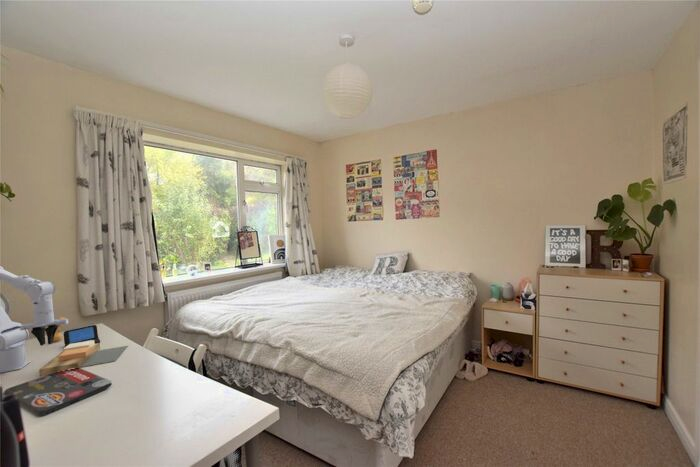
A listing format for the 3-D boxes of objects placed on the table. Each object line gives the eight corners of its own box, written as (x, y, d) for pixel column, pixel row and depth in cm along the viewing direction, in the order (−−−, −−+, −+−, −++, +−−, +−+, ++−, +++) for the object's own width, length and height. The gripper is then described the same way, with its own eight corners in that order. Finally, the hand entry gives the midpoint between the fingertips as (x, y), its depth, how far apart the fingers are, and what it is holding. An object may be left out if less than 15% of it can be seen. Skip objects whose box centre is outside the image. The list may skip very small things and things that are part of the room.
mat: (79, 367, 124) (79, 367, 124) (96, 351, 139) (96, 350, 139) (115, 361, 128) (115, 360, 128) (127, 346, 144) (127, 345, 144)
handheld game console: (65, 352, 141) (64, 336, 140) (64, 346, 148) (62, 331, 148) (100, 343, 150) (99, 328, 149) (97, 338, 157) (96, 324, 157)
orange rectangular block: (58, 361, 125) (58, 356, 125) (65, 355, 131) (65, 350, 131) (86, 356, 128) (85, 351, 128) (91, 350, 134) (91, 346, 134)
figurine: (49, 341, 156) (47, 318, 155) (65, 337, 161) (62, 314, 160) (53, 344, 151) (51, 320, 150) (69, 340, 156) (67, 316, 155)
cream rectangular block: (63, 353, 133) (63, 348, 133) (70, 348, 138) (69, 343, 138) (89, 349, 136) (88, 344, 136) (94, 344, 142) (94, 340, 141)
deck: (39, 375, 118) (39, 369, 118) (67, 353, 139) (66, 348, 139) (78, 368, 123) (78, 362, 123) (99, 348, 143) (99, 342, 143)
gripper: (13, 317, 119) (17, 351, 119) (61, 311, 124) (64, 344, 125) (24, 312, 125) (28, 344, 126) (69, 307, 131) (72, 338, 131)
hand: (46, 344), depth 126 cm, fingers closed
